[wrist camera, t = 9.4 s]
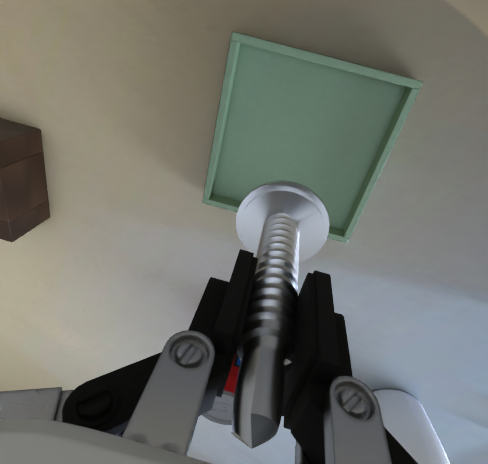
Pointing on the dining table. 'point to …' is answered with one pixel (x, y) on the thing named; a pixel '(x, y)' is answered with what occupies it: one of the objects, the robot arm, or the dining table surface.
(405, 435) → the bottle
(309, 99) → the tray
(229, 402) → the beverage can
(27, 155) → the holder
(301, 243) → the screw
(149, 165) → the dining table surface
